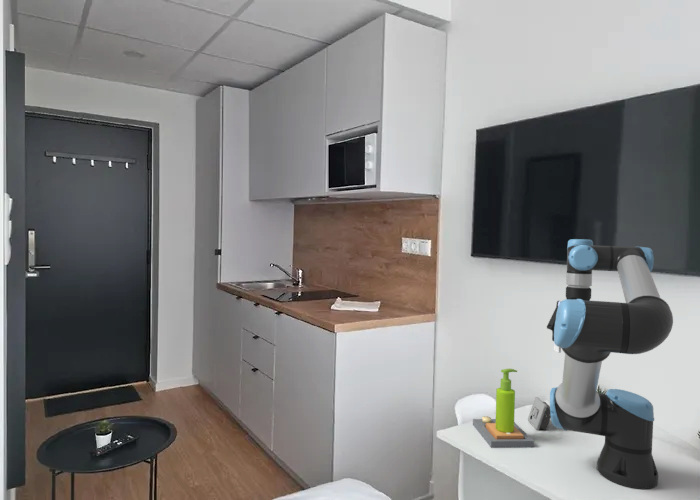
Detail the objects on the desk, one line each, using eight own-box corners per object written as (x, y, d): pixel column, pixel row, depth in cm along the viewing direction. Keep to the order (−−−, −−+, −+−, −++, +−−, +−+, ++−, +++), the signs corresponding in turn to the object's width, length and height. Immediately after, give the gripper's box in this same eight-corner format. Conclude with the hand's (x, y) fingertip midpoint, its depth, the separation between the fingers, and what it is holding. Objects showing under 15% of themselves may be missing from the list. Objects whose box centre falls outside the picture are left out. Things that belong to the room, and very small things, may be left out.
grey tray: (533, 447, 153) (534, 436, 152) (491, 447, 152) (491, 436, 151) (510, 424, 171) (511, 414, 170) (472, 424, 170) (473, 414, 169)
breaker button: (523, 444, 154) (523, 434, 154) (496, 444, 154) (496, 435, 154) (510, 431, 164) (511, 422, 164) (485, 431, 164) (485, 422, 164)
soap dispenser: (520, 430, 157) (521, 371, 157) (503, 433, 155) (504, 373, 154) (508, 423, 163) (509, 366, 162) (491, 426, 160) (493, 368, 160)
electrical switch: (527, 420, 175) (530, 395, 174) (541, 422, 175) (544, 397, 174) (536, 431, 165) (539, 405, 165) (551, 433, 165) (554, 406, 165)
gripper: (604, 285, 161) (601, 348, 161) (537, 284, 156) (534, 349, 156) (620, 288, 153) (618, 353, 154) (550, 287, 149) (548, 354, 149)
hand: (576, 351), depth 155 cm, fingers open, 13 cm apart
